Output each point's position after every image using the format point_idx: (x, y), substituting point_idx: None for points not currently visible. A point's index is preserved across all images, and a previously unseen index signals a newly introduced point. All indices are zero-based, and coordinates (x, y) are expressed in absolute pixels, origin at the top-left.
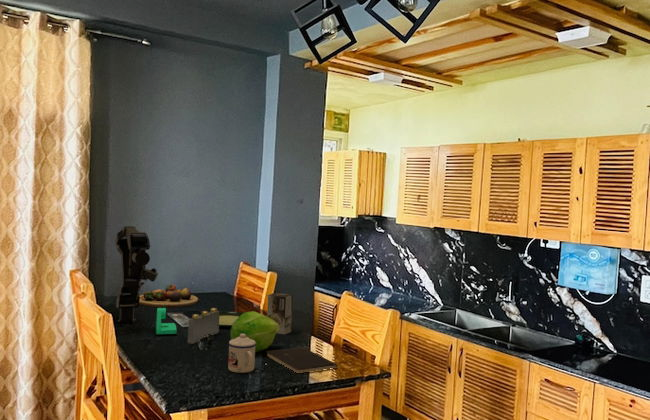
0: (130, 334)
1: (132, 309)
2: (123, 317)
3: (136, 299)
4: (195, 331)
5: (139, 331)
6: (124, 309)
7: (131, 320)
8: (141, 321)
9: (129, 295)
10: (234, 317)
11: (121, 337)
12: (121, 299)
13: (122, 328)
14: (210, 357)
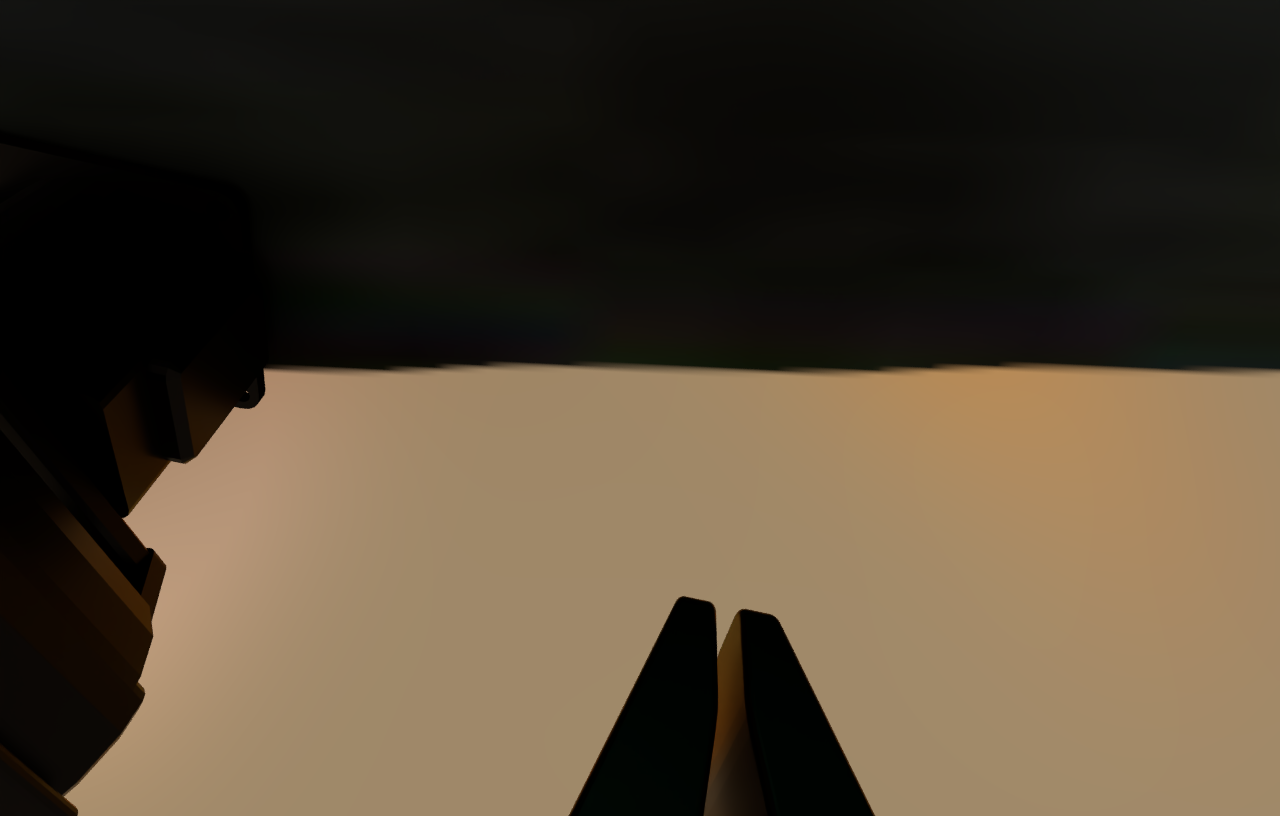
0: (1106, 241)
1: (13, 317)
2: (237, 379)
3: (762, 634)
4: None
5: (928, 77)
6: (130, 463)
7: (164, 215)
8: (60, 11)
9: None
10: None
11: (1247, 371)
12: (131, 718)
13: (637, 341)
14: None
